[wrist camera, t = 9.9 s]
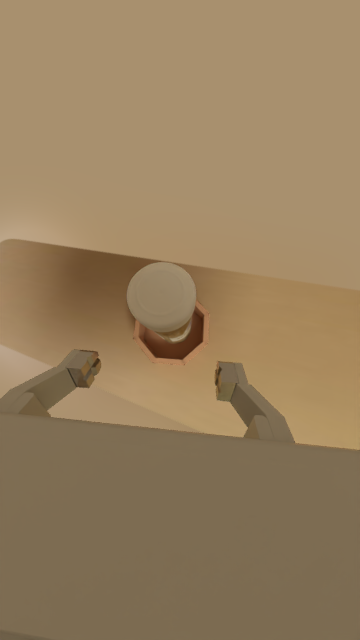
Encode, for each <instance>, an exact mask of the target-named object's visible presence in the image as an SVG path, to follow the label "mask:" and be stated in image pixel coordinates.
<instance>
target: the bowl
mask: <svg viewBox="0 0 360 640" xmlns="http://www.w3.org/2000/svg"><path fill="white" fill-rule="evenodd" d="M208 334H209V313H208V311H207V310H206V309H205V308H204V307H203V306H202V305H201V304H200V303H199V302H198V301H197V300H196V304H195V309H194V312H193V314H192V321H191V332H190V335H189V336H188V338H187V339H186V340H185V341H183V342H181V343H178V344H172V343H169V342H167V341H165V340H164V339H163V338H162V337H160V336H159V335H157V334H156V333H155V332H154V331H153V330H150V329H148V328H146V327H145V326H144V325H142V324H141V323H140V322H139V321H138V320H136V321H135V329H134V336H133V339H134V340H135V342H136V343H137V344H138V345H139V347H140V348H141V349H142V350H143V352H144V353H145V354H146V355H147V357H148V358H149V359H150V360H151V362H152V363H162V364H176V365H185V364H186V363H187V362H188V361H190V360H191V359H192V358H193V357H194V356H195V355H196V354H197V353H198V352H200V351H201V350H202V349H203V348H204V347H205V346H206V345H207V344H208Z"/></svg>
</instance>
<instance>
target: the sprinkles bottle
mask: <svg viewBox="0 0 360 640" xmlns="http://www.w3.org/2000/svg"><path fill="white" fill-rule="evenodd" d="M127 304H128V307H129V310H130V312H131V313H132V315H133V316H134V317H135V319H136V320H138V321H139V322H140V323H141V324H142V325H144V326H145V327H146V328H148V329H150V330H153V331H154V332H155V333H156V334H157V335H159V336H160V337H162V338H163V339H164V340H165V341H167V342H169V343H172V344H178V343H181V342H183V341H185V340H186V339H187V338H188V336H189V335H190V332H191V321H192V314H193V312H194V309H195V304H196V288H195V284H194V282H193V279H192V278H191V276H190V275H189V274H188V273H187V272H186V271H185V270H184V269H183V268H181V267H180V266H178V265H175V264H172V263H168V262H157V263H152V264H149V265H147V266H145V267H143V268H142V269H140V270H139V271H138V272H137V273H136V274H135V275H134V276H133V278H132V279H131V281H130V283H129V285H128V289H127Z"/></svg>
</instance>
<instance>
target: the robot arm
mask: <svg viewBox="0 0 360 640" xmlns="http://www.w3.org/2000/svg"><path fill="white" fill-rule="evenodd" d="M98 356H99V355H98V352H96V351H87V350H77V349H74V350H72V351H71V352H70V353H69V354H68V356H67V357H66V358H65V359H64V360H63V361H62V362H61V363H60V364H59V365H58V366H57V367H54V368H52V369H50V370H48V371H46V372H44V373H42V374H40V375H38V376H36V377H34V378H33V379H30V380H29V381H27V382H25V383H23V384H21V385H19V386H17V387H15V388H13V389H11V390H9V391H8V392H7V393H6V394H5V395H4V396H3V397H2V398H1V399H0V640H360V450H355V449H346V448H336V447H327V446H317V445H308V444H299V443H295V441H294V439H293V437H292V434H291V432H290V430H289V427H288V425H287V423H286V420H285V418H284V417H283V416H282V415H281V414H280V413H279V412H278V411H277V410H276V409H275V408H274V407H273V406H272V405H271V404H270V403H269V402H268V401H267V400H266V399H265V398H264V397H263V396H262V395H261V394H260V393H259V392H258V391H257V390H256V389H255V388H254V387H253V386H252V385H249V384H248V381H247V378H246V375H245V372H244V369H243V365H242V364H241V363H234V362H220V361H218V362H217V369H216V370H215V385H216V386H217V387H216V397H217V400H220V401H228V402H230V403H231V404H232V406H233V407H234V408H235V410H236V411H237V413H238V414H239V416H240V417H241V419H242V420H243V421H244V423H245V424H246V426H247V427H248V429H247V431H246V433H245V435H244V437H243V438H242V437H232V436H223V435H214V434H204V433H193V432H185V431H176V430H166V429H157V428H148V427H139V426H128V425H120V424H110V423H100V422H91V421H82V420H71V419H62V418H53V417H51V415H50V414H49V413H48V412H47V410H48V409H50V408H51V407H52V406H54V405H55V404H56V403H58V402H59V401H60V400H61V399H63V398H64V397H65V396H66V395H68V394H69V393H70V392H72V391H73V390H74V389H75V388H76V387H82V388H89V387H90V386H91V384H92V383H93V381H94V376H95V375H97V374H98V373H99V371H100V368H101V361H100V359H98V358H97V357H98Z"/></svg>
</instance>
